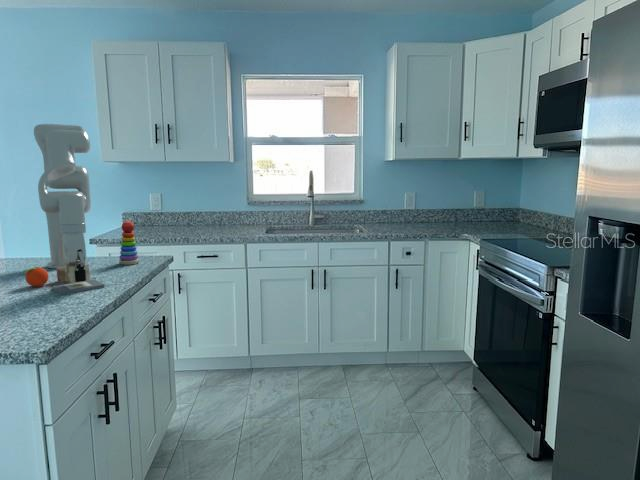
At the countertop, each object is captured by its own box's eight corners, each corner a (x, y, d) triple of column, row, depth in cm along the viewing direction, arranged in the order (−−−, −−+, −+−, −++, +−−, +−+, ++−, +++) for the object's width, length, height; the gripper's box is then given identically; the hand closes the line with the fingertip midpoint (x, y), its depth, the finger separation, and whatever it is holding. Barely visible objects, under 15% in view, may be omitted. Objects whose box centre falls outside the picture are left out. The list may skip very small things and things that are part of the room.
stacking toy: (131, 265, 191) (129, 222, 188) (115, 264, 192) (112, 222, 189) (142, 261, 198) (140, 220, 195) (126, 261, 200) (124, 220, 197)
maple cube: (65, 280, 155) (64, 264, 154) (84, 277, 159) (82, 261, 158) (71, 283, 151) (69, 266, 150) (90, 280, 155) (88, 264, 154)
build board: (52, 289, 154) (51, 286, 154) (94, 281, 164) (94, 279, 164) (60, 295, 147) (60, 291, 147) (104, 287, 157) (104, 284, 157)
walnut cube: (57, 281, 165) (56, 268, 164) (72, 279, 168) (71, 266, 167) (61, 284, 161) (60, 270, 160) (76, 281, 165) (75, 268, 164)
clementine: (29, 290, 152) (27, 270, 151) (19, 287, 156) (17, 268, 154) (53, 285, 159) (51, 266, 158) (43, 282, 162) (41, 263, 161)
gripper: (53, 227, 155) (58, 277, 158) (69, 232, 143) (73, 286, 146) (77, 225, 161) (81, 273, 164) (93, 230, 149) (97, 282, 152)
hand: (77, 279), depth 155 cm, fingers closed on maple cube, 6 cm apart
